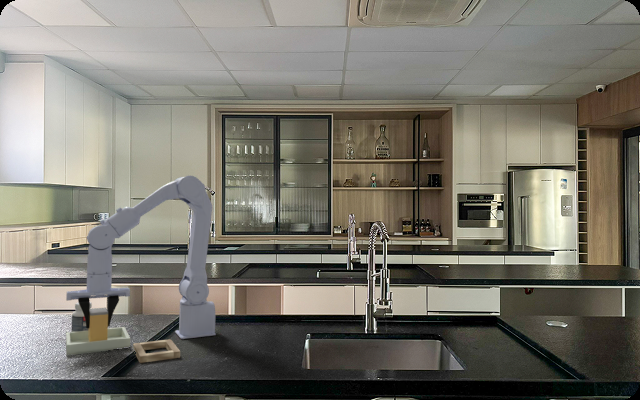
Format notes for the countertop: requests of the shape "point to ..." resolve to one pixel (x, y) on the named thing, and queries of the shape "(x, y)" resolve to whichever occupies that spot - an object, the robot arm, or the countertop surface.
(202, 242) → the robot arm
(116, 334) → the tray
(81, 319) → the pill bottle
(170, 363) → the countertop surface
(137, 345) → the socket block
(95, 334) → the tan boxy piece
